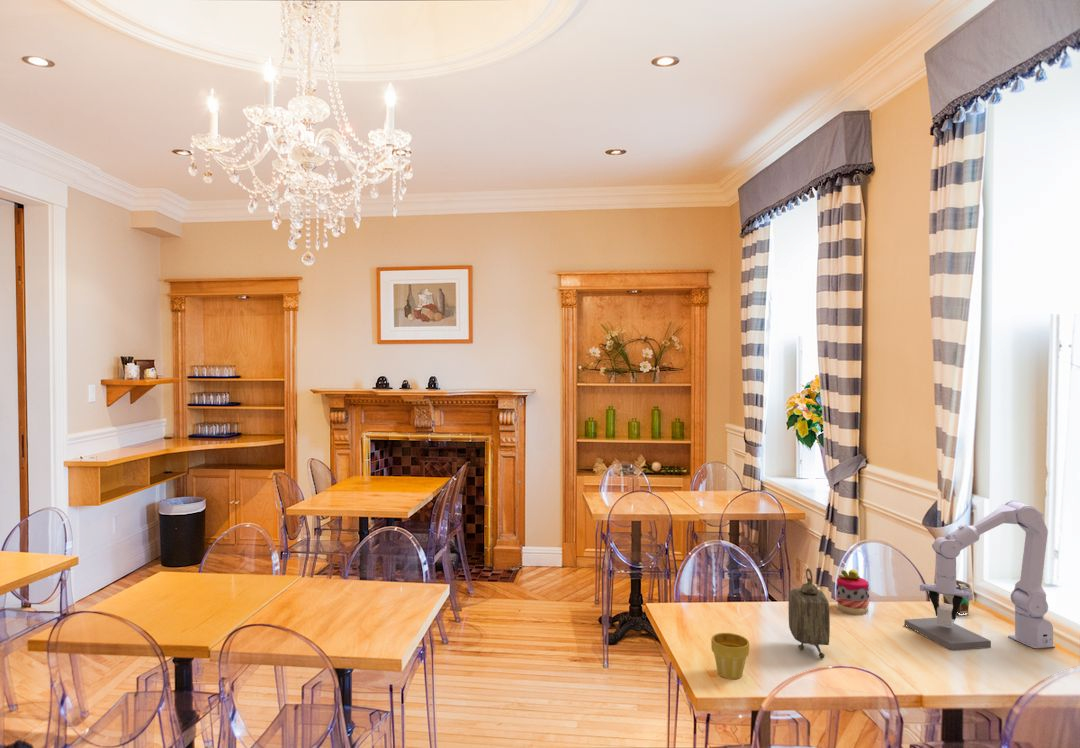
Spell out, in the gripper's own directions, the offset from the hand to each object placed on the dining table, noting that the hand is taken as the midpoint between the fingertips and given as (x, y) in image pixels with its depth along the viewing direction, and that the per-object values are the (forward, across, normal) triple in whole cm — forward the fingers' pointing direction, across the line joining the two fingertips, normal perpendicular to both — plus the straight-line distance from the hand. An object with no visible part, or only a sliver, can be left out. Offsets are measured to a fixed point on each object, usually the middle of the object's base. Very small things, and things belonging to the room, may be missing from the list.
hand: (945, 617), depth 209 cm
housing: (+2, 0, 0) cm, 2 cm away
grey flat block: (+6, 0, 0) cm, 6 cm away
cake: (+6, +30, -6) cm, 31 cm away
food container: (+6, -1, -30) cm, 30 cm away
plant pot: (+6, +43, +71) cm, 83 cm away
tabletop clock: (+6, +31, +40) cm, 51 cm away
